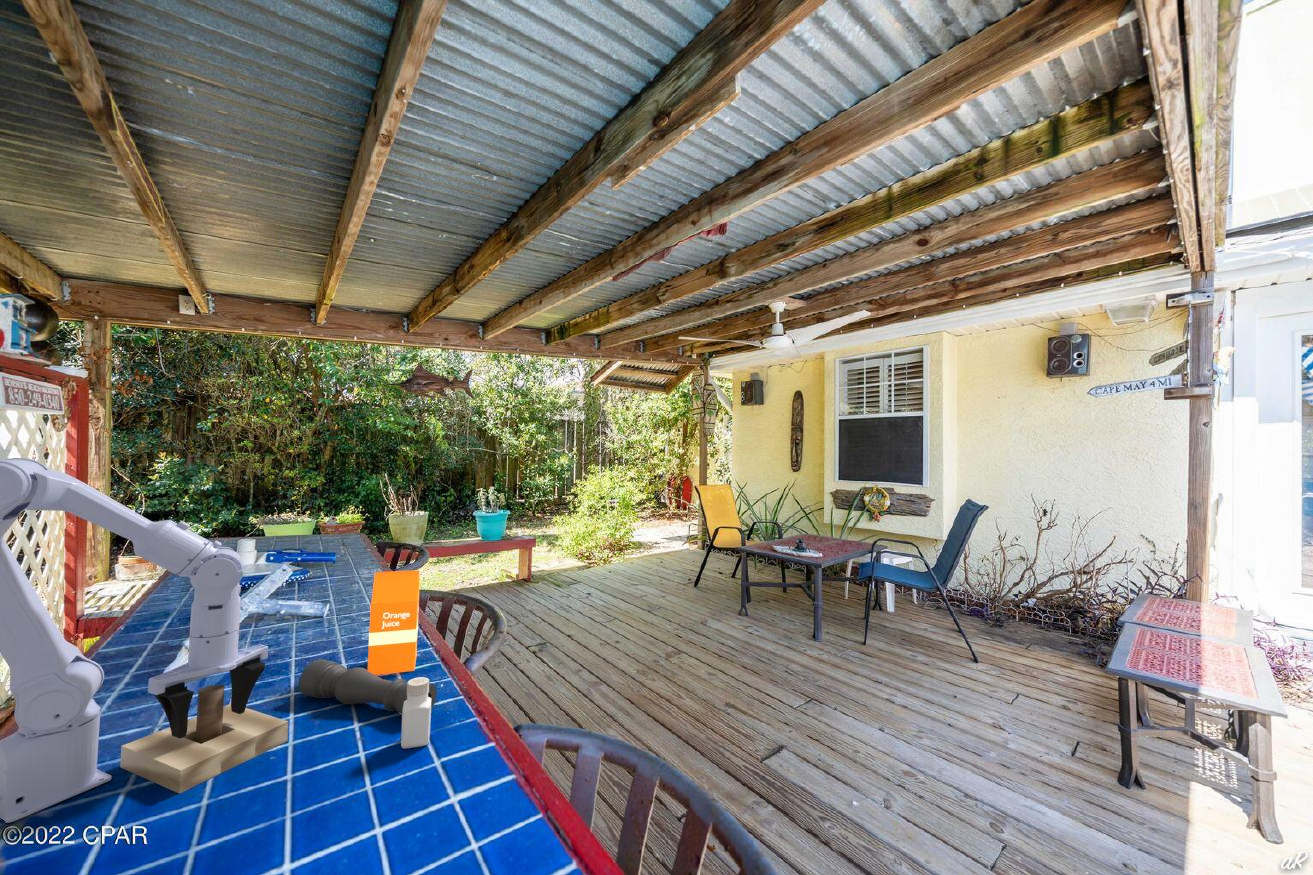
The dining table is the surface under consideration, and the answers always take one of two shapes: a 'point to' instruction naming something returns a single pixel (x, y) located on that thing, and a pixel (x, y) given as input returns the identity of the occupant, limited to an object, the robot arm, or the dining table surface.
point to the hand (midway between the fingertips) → (209, 723)
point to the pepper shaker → (416, 714)
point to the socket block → (202, 749)
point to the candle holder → (355, 686)
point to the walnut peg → (209, 713)
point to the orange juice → (394, 622)
